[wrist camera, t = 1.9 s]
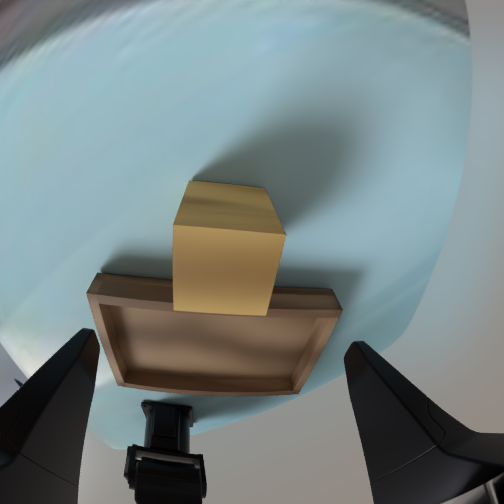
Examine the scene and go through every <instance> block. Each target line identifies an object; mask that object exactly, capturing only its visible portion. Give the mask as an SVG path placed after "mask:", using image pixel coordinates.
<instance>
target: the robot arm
mask: <svg viewBox="0 0 504 504" xmlns="http://www.w3.org/2000/svg"><path fill="white" fill-rule="evenodd" d="M99 353H100V345H99V342H98V339H97V336H96V333H95V331H94V330H93V329H88V328H83V329H81V330H80V331H79V332H78V333H76V334H75V335H74V336H73V337H72V338H71V339H70V340H69V341H68V342H67V343H66V344H65V345H63V346H62V347H61V348H60V349H59V350H58V351H57V352H56V353H55V354H54V355H53V356H52V357H51V358H50V359H49V360H48V361H47V362H45V363H44V364H43V365H42V366H41V367H40V368H39V369H38V370H37V371H36V372H35V373H34V374H33V375H32V376H31V377H30V378H29V379H28V380H27V381H26V382H25V383H24V384H23V385H22V386H21V387H20V388H19V390H17V391H16V392H15V393H14V395H12V397H10V398H9V399H8V400H7V401H6V402H5V403H4V404H3V405H2V406H1V407H0V504H77V503H78V486H79V476H80V467H81V459H82V451H83V445H84V439H85V433H86V427H87V422H88V417H89V412H90V407H91V403H92V398H93V394H94V389H95V381H96V373H97V366H98V360H99ZM344 364H345V370H346V377H347V383H348V389H349V395H350V399H351V403H352V407H353V411H354V415H355V418H356V422H357V426H358V431H359V435H360V439H361V443H362V447H363V452H364V456H365V461H366V465H367V470H368V475H369V480H370V485H371V490H372V496H373V501H374V504H504V433H479V432H475V431H473V430H470V429H469V428H467V427H466V426H464V425H463V424H462V423H460V422H459V421H457V420H456V419H455V418H453V417H452V416H451V415H449V414H448V413H446V412H445V411H444V410H442V409H441V408H440V407H439V406H438V405H437V404H435V403H434V402H433V401H432V400H431V399H430V398H428V397H427V396H426V395H425V394H424V393H423V392H422V391H420V390H419V389H418V388H417V387H416V386H415V385H414V384H412V383H411V382H410V381H409V380H408V379H407V378H405V377H404V376H403V375H402V374H401V373H400V372H399V371H397V370H396V369H395V368H394V367H393V366H392V365H391V364H389V363H388V362H387V361H386V360H385V359H384V358H383V357H381V356H380V355H379V354H378V353H377V352H376V351H374V350H373V349H372V348H371V347H370V346H369V345H368V344H366V343H365V342H364V341H354V342H352V344H351V345H350V347H349V349H348V350H347V352H346V354H345V356H344ZM141 407H142V409H143V412H144V414H145V416H146V419H147V420H146V429H145V440H144V447H142V446H137V445H136V444H133V446H128V449H127V458H126V464H125V470H124V477H125V478H126V479H127V481H128V484H129V489H133V490H135V501H136V504H202V498H205V497H206V490H207V483H206V475H205V467H204V460H203V454H198V455H197V454H190V453H189V452H190V449H189V448H190V447H189V445H190V442H189V440H190V427H193V411H192V407H189V406H177V405H166V404H157V403H149V402H142V403H141ZM137 458H142V459H141V460H137Z"/></svg>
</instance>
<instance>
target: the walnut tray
mask: <svg viewBox="0 0 504 504" xmlns="http://www.w3.org/2000/svg"><path fill="white" fill-rule="evenodd" d="M86 294H87V298H88V301H89V305H90V309H91V312H92V315H93V319H94V322H95V325H96V328H97V331H98V334H99V337H100V340H101V343H102V346H103V349H104V351H105V354H106V357H107V359H108V362H109V365H110V367H111V370H112V372H113V375H114V377H115V379H116V382H117V384H118V386H123V387H129V388H136V389H143V390H150V391H159V392H168V393H179V394H192V395H210V396H271V395H290V394H299V392H300V390H301V389H302V387H303V385H304V383H305V382H306V380H307V378H308V376H309V375H310V373H311V371H312V369H313V367H314V366H315V364H316V362H317V360H318V358H319V356H320V354H321V352H322V350H323V349H324V347H325V345H326V343H327V341H328V339H329V337H330V335H331V333H332V331H333V329H334V327H335V325H336V323H337V320H338V318H339V316H340V314H341V312H342V308H341V306H340V304H339V302H338V300H337V298H336V296H335V294H334V292H333V290H332V289H310V288H286V287H273V290H272V294H271V298H270V302H269V306H268V310H267V314H266V316H260V315H236V314H217V313H202V312H189V311H176V310H174V305H173V280H167V279H155V278H145V277H134V276H124V275H115V274H106V273H97V274H96V276H95V278H94V280H93V281H92V283H91V285H90V287H89V289H88V291H87V293H86Z"/></svg>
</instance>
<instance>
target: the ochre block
mask: <svg viewBox="0 0 504 504" xmlns="http://www.w3.org/2000/svg"><path fill="white" fill-rule="evenodd" d="M285 237H286V233H285V231H284V229H283V227H282V224H281V222H280V220H279V218H278V216H277V213H276V211H275V209H274V207H273V205H272V203H271V200H270V198H269V196H268V194H267V192H266V190H265V188H260V187H251V186H242V185H233V184H223V183H212V182H200V181H189V183H188V185H187V188H186V190H185V193H184V196H183V198H182V201H181V204H180V207H179V209H178V212H177V215H176V218H175V221H174V224H173V305H174V310H176V311H189V312H202V313H217V314H236V315H260V316H266V314H267V310H268V306H269V302H270V298H271V294H272V290H273V286H274V282H275V278H276V274H277V270H278V266H279V262H280V258H281V254H282V250H283V246H284V242H285Z"/></svg>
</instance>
